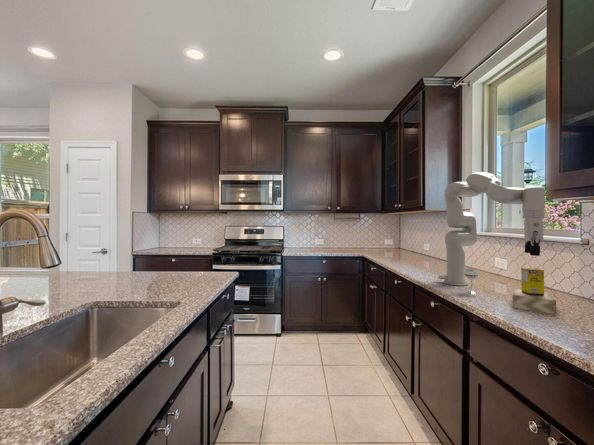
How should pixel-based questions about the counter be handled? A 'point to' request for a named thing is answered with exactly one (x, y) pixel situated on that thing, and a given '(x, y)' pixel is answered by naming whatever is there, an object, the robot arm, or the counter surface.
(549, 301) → the riser block
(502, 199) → the robot arm
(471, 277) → the wineglass
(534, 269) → the supplement box
